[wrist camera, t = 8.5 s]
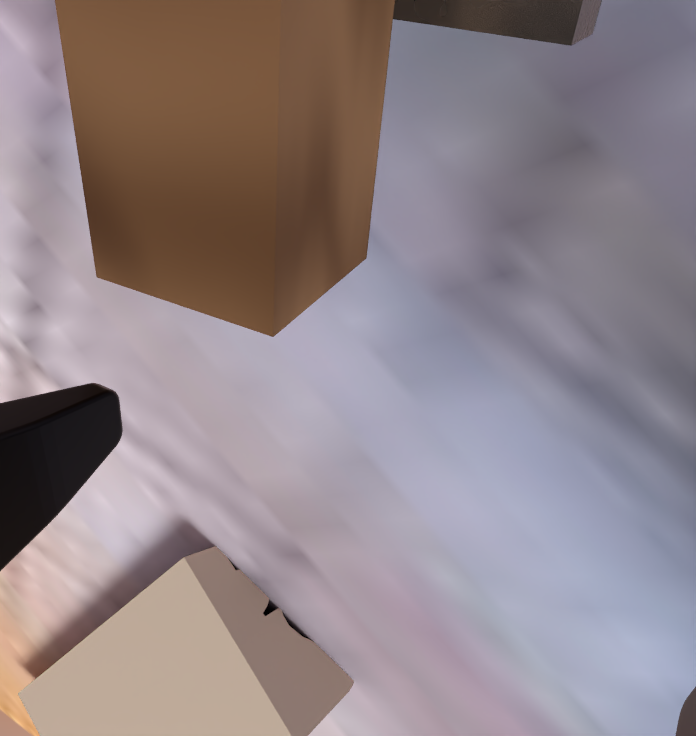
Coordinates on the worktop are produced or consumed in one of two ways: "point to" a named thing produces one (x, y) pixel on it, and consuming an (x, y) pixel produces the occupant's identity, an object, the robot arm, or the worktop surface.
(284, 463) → the worktop surface
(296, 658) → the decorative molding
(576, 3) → the ridge block
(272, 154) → the walnut bar
